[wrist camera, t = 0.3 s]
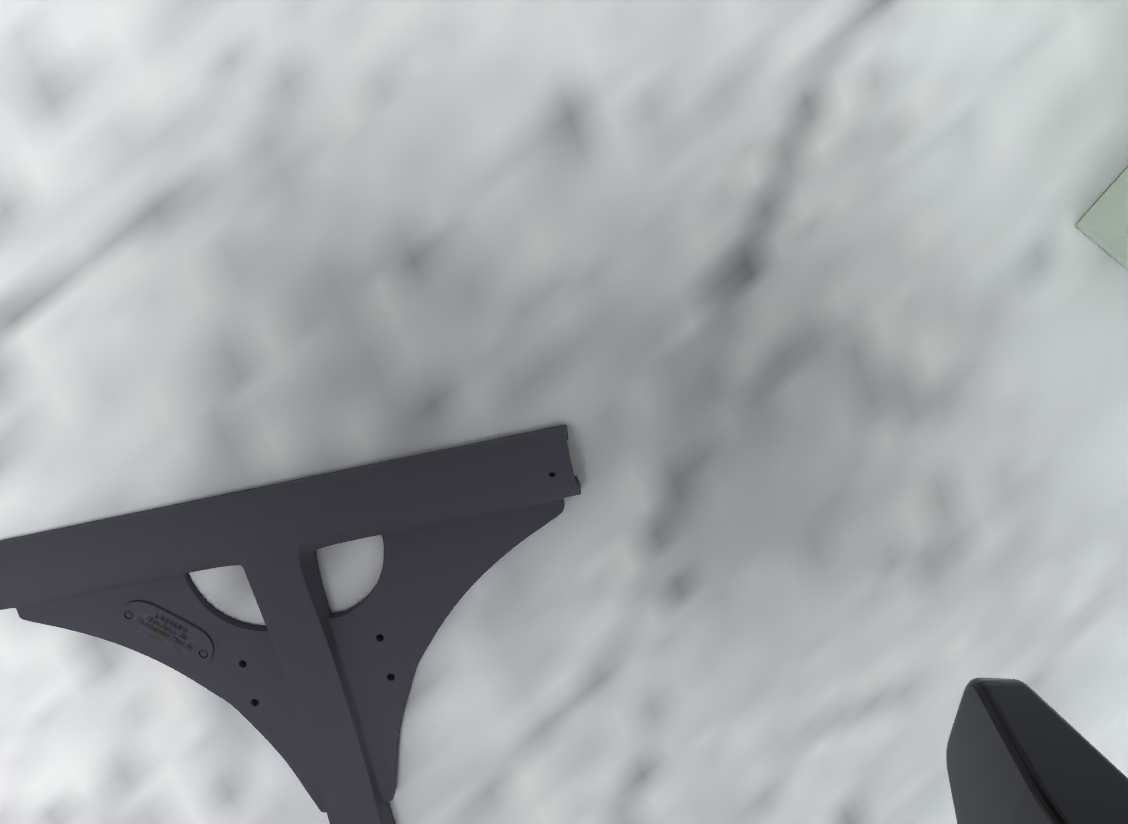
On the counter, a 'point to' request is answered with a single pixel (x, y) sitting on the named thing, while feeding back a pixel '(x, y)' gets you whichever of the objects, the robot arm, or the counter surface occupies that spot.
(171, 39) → the counter surface
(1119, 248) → the shelf
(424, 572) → the bracket
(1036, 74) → the counter surface
